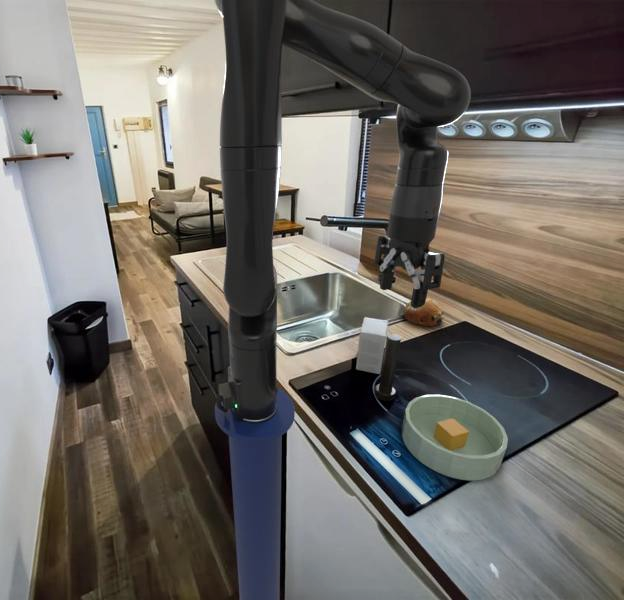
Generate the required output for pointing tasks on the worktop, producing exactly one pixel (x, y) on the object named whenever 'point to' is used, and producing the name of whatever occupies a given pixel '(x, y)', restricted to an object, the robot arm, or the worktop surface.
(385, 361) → the rod
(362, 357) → the small box
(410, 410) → the bowl
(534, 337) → the worktop surface
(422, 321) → the bread roll
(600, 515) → the worktop surface
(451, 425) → the block
